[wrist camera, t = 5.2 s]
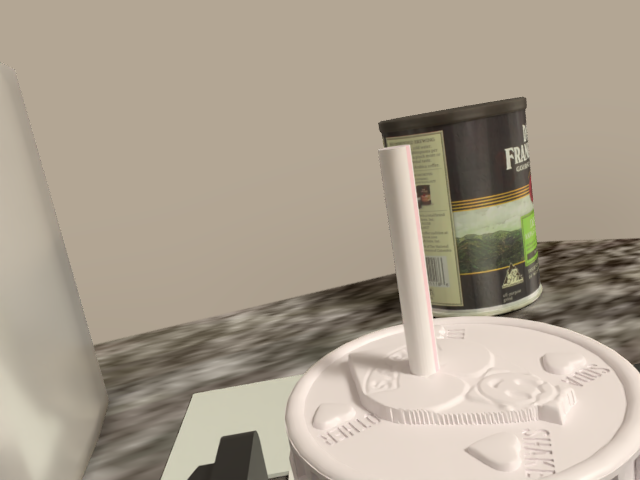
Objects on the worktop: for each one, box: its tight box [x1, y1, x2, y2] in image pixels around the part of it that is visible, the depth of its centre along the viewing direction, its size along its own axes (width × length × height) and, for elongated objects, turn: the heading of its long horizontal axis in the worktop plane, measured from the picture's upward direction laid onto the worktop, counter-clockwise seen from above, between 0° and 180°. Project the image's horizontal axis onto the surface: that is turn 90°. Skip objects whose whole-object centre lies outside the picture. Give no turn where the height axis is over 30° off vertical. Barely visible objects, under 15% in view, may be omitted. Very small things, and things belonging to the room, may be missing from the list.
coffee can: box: [378, 97, 542, 318], centre depth 40 cm, size 10×10×14 cm
